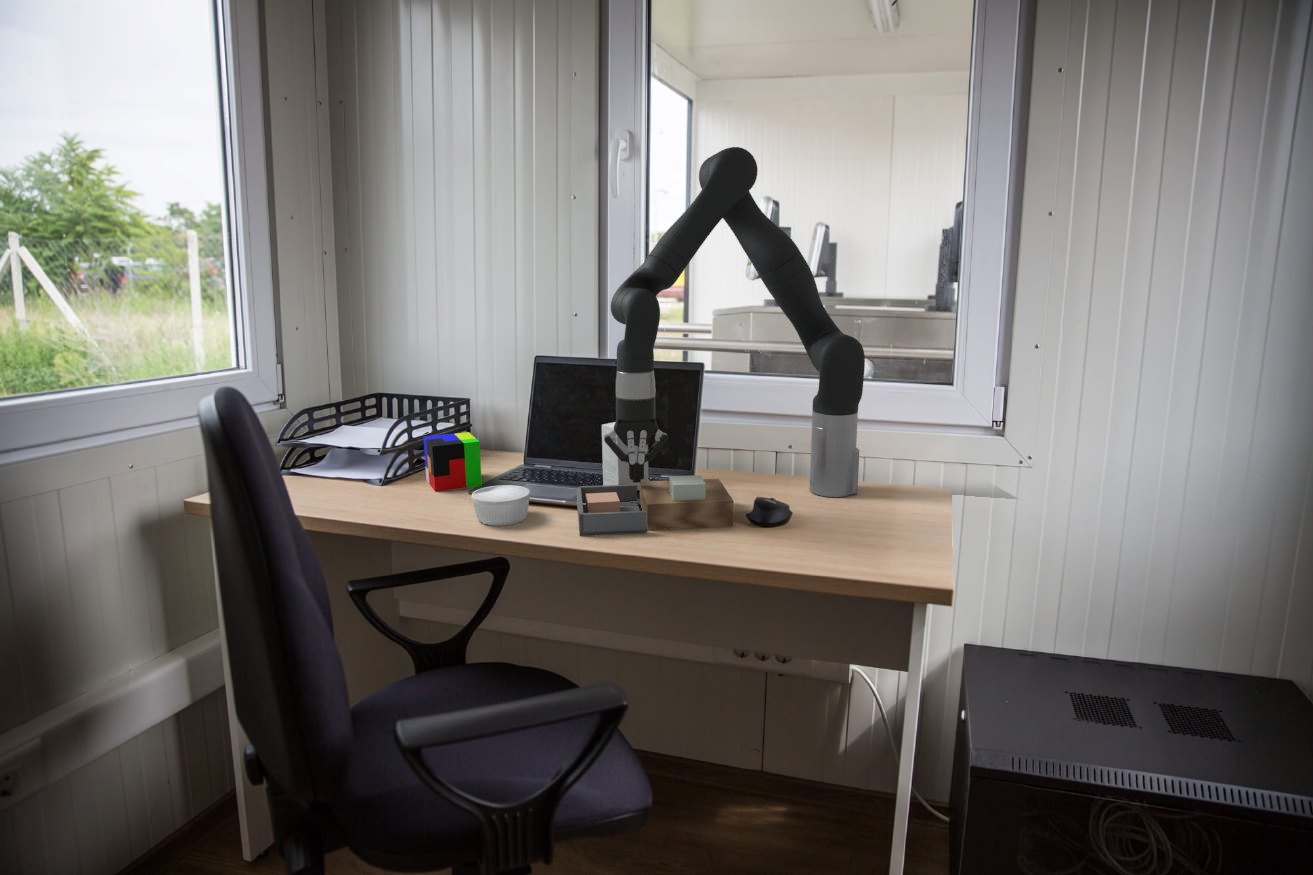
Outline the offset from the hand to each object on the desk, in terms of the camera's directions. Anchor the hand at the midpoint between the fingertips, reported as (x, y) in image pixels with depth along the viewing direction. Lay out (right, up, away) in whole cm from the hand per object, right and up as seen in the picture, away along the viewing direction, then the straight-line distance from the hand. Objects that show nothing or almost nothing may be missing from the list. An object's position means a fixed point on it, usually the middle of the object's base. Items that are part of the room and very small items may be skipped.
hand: (636, 481), depth 170 cm
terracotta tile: (-7, -3, -2) cm, 7 cm away
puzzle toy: (-41, -2, +22) cm, 46 cm away
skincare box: (-3, -3, +15) cm, 15 cm away
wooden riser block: (+9, -7, -1) cm, 12 cm away
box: (-5, -7, -3) cm, 9 cm away
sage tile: (+10, -2, -6) cm, 11 cm away
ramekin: (-26, -7, -2) cm, 27 cm away
